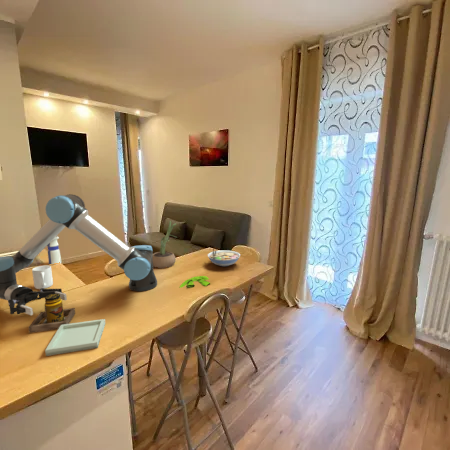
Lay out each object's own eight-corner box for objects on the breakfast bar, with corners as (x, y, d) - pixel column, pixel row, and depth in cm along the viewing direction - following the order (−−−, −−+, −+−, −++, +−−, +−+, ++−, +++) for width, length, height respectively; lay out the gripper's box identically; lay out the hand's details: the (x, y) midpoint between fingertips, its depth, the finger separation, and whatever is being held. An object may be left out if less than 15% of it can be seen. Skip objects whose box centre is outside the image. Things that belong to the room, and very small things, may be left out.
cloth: (208, 275, 161) (208, 272, 160) (218, 289, 140) (218, 285, 140) (175, 279, 155) (175, 276, 154) (181, 295, 134) (181, 290, 134)
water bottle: (44, 264, 181) (40, 229, 176) (56, 260, 189) (52, 227, 184) (52, 265, 178) (48, 230, 173) (64, 262, 185) (60, 228, 181)
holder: (75, 313, 115) (74, 307, 115) (66, 327, 104) (66, 322, 103) (41, 317, 112) (40, 311, 111) (29, 333, 100) (28, 327, 100)
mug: (34, 293, 135) (31, 273, 133) (34, 285, 145) (32, 267, 143) (53, 289, 140) (51, 270, 138) (52, 282, 150) (50, 264, 148)
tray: (105, 323, 106) (104, 318, 106) (97, 347, 91) (97, 342, 91) (61, 329, 102) (61, 324, 102) (46, 356, 87) (45, 350, 87)
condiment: (61, 326, 105) (58, 298, 103) (38, 328, 103) (34, 300, 101) (68, 316, 112) (65, 291, 110) (46, 319, 110) (42, 293, 108)
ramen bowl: (241, 271, 167) (241, 259, 165) (206, 271, 167) (205, 259, 166) (239, 259, 191) (239, 248, 190) (208, 259, 192) (208, 248, 190)
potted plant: (160, 271, 167) (158, 225, 162) (146, 265, 179) (143, 222, 174) (187, 262, 184) (186, 221, 178) (172, 257, 196) (171, 218, 190)
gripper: (49, 291, 126) (78, 299, 118) (-14, 315, 104) (16, 328, 95) (47, 277, 125) (76, 284, 116) (-17, 298, 103) (13, 309, 94)
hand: (49, 304), depth 106 cm, fingers open, 13 cm apart
